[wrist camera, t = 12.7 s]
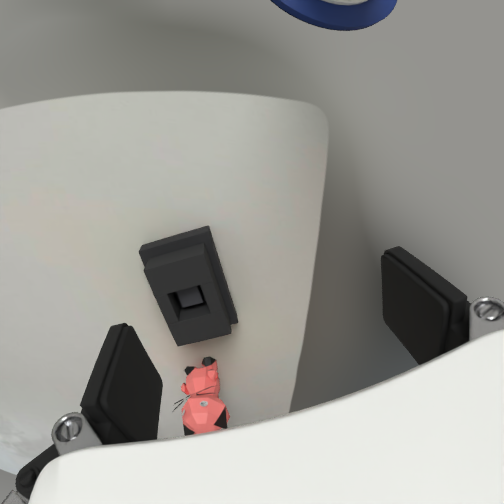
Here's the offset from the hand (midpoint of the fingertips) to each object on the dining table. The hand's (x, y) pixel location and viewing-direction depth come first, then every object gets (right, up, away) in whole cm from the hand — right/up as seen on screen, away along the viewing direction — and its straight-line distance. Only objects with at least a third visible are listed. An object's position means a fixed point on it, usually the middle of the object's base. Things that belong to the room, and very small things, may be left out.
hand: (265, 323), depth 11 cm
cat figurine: (-7, -14, +31) cm, 35 cm away
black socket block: (-7, -2, +24) cm, 25 cm away
